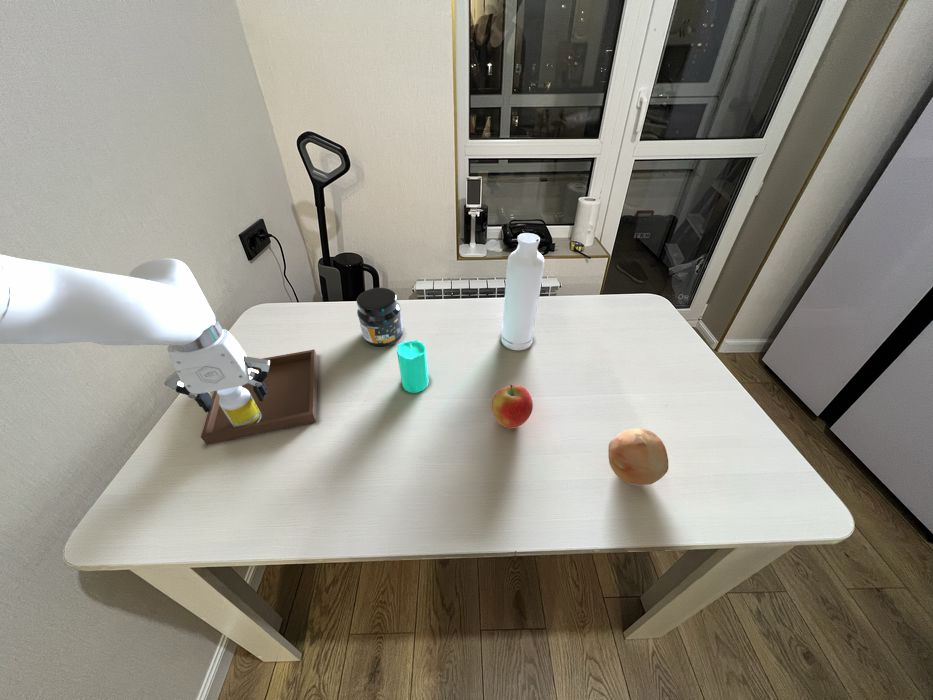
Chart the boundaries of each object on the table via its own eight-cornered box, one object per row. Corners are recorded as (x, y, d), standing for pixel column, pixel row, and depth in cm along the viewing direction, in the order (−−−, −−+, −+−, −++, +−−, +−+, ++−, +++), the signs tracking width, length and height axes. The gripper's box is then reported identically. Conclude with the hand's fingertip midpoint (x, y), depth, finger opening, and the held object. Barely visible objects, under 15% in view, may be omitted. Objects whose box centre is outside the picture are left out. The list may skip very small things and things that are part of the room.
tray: (206, 445, 74) (200, 437, 72) (226, 373, 89) (221, 365, 87) (316, 421, 78) (312, 413, 76) (317, 357, 93) (314, 349, 91)
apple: (506, 443, 74) (510, 410, 67) (483, 416, 79) (484, 383, 72) (537, 425, 77) (544, 392, 71) (513, 400, 82) (517, 367, 76)
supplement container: (360, 349, 95) (350, 310, 87) (366, 324, 103) (358, 286, 95) (402, 348, 95) (396, 310, 87) (405, 323, 103) (400, 285, 95)
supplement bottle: (267, 417, 78) (249, 384, 72) (244, 435, 75) (223, 403, 68) (251, 406, 80) (232, 373, 74) (228, 423, 77) (205, 391, 70)
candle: (397, 389, 85) (390, 349, 77) (409, 371, 89) (403, 331, 81) (422, 395, 83) (417, 355, 75) (432, 377, 88) (429, 337, 80)
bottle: (500, 329, 101) (508, 229, 82) (531, 330, 101) (545, 230, 82) (501, 349, 95) (510, 246, 76) (533, 350, 95) (550, 247, 76)
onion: (653, 506, 65) (675, 475, 58) (595, 480, 68) (609, 448, 62) (661, 462, 71) (682, 430, 64) (608, 441, 74) (622, 408, 68)
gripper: (126, 357, 58) (182, 426, 69) (248, 337, 61) (282, 406, 73) (143, 328, 63) (192, 396, 75) (254, 312, 67) (285, 379, 78)
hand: (236, 401), depth 74 cm, fingers open, 9 cm apart
